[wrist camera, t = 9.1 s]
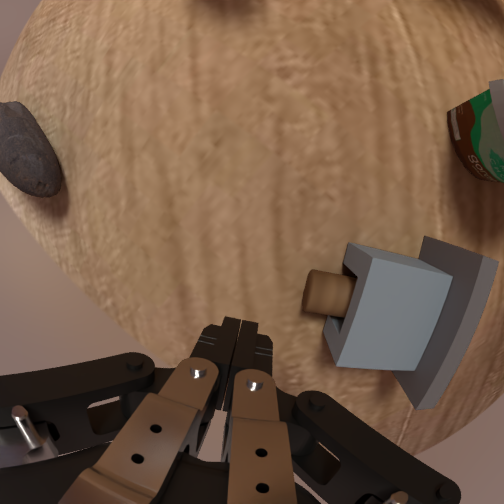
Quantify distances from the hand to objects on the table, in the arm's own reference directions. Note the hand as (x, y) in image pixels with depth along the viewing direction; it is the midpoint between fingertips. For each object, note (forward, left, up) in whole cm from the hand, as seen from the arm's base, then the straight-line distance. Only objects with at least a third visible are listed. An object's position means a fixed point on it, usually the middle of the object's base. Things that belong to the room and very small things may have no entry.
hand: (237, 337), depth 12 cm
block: (-11, 0, -10) cm, 14 cm away
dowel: (-8, 0, -10) cm, 13 cm away
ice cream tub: (-19, -15, -10) cm, 27 cm away
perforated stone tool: (+24, -8, -10) cm, 27 cm away
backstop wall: (-15, 0, -10) cm, 18 cm away
